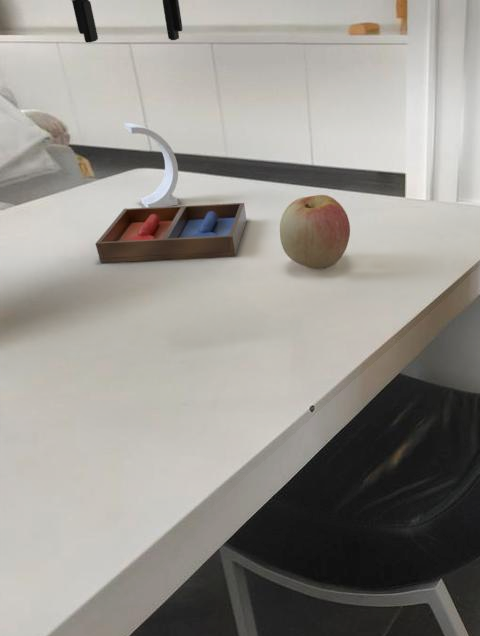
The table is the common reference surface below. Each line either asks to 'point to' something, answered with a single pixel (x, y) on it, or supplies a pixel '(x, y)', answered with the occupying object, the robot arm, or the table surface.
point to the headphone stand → (168, 184)
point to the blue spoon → (207, 226)
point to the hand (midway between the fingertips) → (133, 40)
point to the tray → (173, 233)
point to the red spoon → (147, 228)
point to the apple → (315, 231)
